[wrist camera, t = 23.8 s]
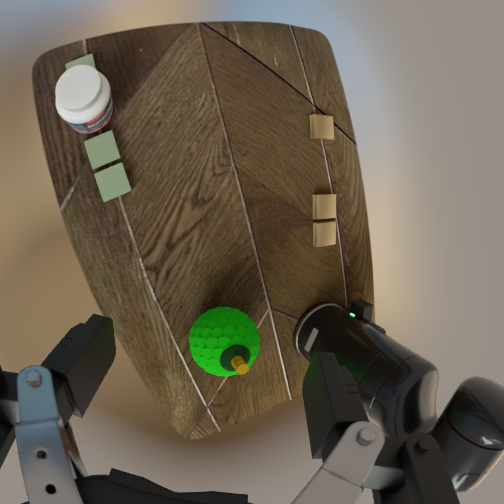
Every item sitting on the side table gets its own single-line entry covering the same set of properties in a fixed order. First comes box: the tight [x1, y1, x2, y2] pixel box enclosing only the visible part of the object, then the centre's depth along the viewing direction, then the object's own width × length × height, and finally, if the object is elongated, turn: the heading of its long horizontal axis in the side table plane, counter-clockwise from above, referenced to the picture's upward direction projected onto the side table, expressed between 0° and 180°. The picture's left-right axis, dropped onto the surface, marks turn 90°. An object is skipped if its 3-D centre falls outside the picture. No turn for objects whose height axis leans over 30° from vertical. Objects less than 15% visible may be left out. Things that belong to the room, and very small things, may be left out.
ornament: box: [189, 307, 260, 376], centre depth 32 cm, size 8×8×10 cm
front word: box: [66, 54, 131, 202], centre depth 26 cm, size 3×17×1 cm, turn 18°
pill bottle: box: [56, 65, 113, 133], centre depth 21 cm, size 5×5×9 cm
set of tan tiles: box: [309, 114, 336, 247], centre depth 38 cm, size 3×18×1 cm, turn 3°
